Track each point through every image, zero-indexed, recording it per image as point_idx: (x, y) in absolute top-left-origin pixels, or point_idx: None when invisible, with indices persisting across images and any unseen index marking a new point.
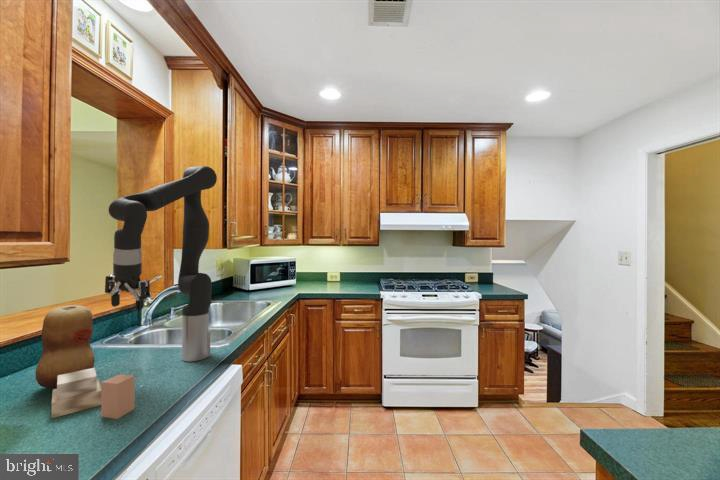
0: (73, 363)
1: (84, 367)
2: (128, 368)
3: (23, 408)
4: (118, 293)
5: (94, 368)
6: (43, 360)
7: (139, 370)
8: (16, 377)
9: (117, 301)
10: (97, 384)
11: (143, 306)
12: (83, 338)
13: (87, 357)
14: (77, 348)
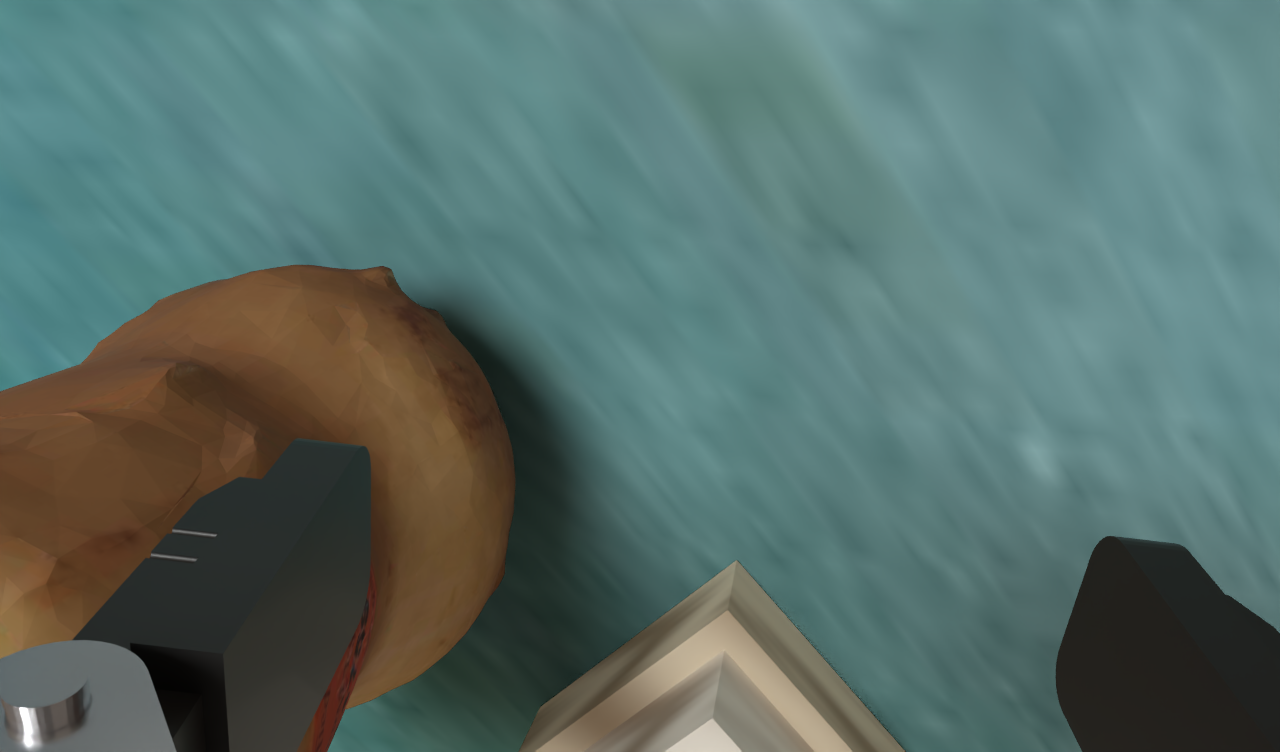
0: (442, 647)
1: (503, 540)
2: (637, 42)
3: (406, 747)
4: (141, 668)
5: (727, 739)
6: None
7: (793, 97)
8: None
9: (327, 578)
10: (804, 720)
11: (1275, 641)
12: (351, 677)
13: (465, 528)
14: (371, 661)
